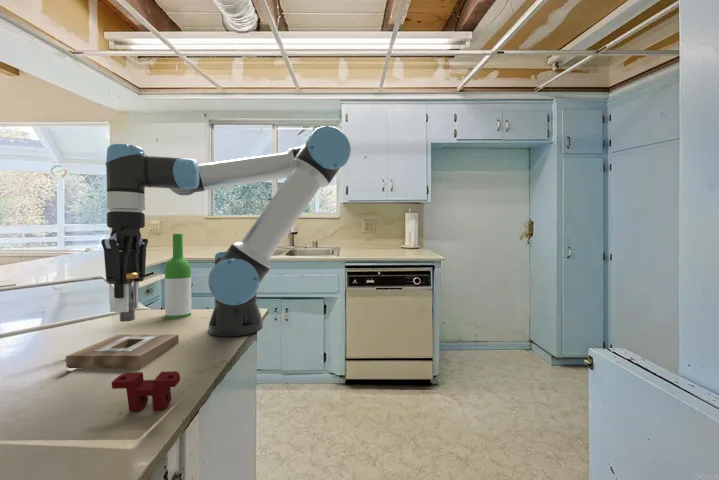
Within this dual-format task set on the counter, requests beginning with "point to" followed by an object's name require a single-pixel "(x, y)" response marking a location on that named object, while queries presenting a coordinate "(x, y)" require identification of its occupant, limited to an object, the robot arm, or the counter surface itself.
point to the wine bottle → (177, 282)
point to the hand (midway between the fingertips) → (127, 309)
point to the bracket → (147, 389)
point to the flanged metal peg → (130, 298)
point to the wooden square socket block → (122, 352)
